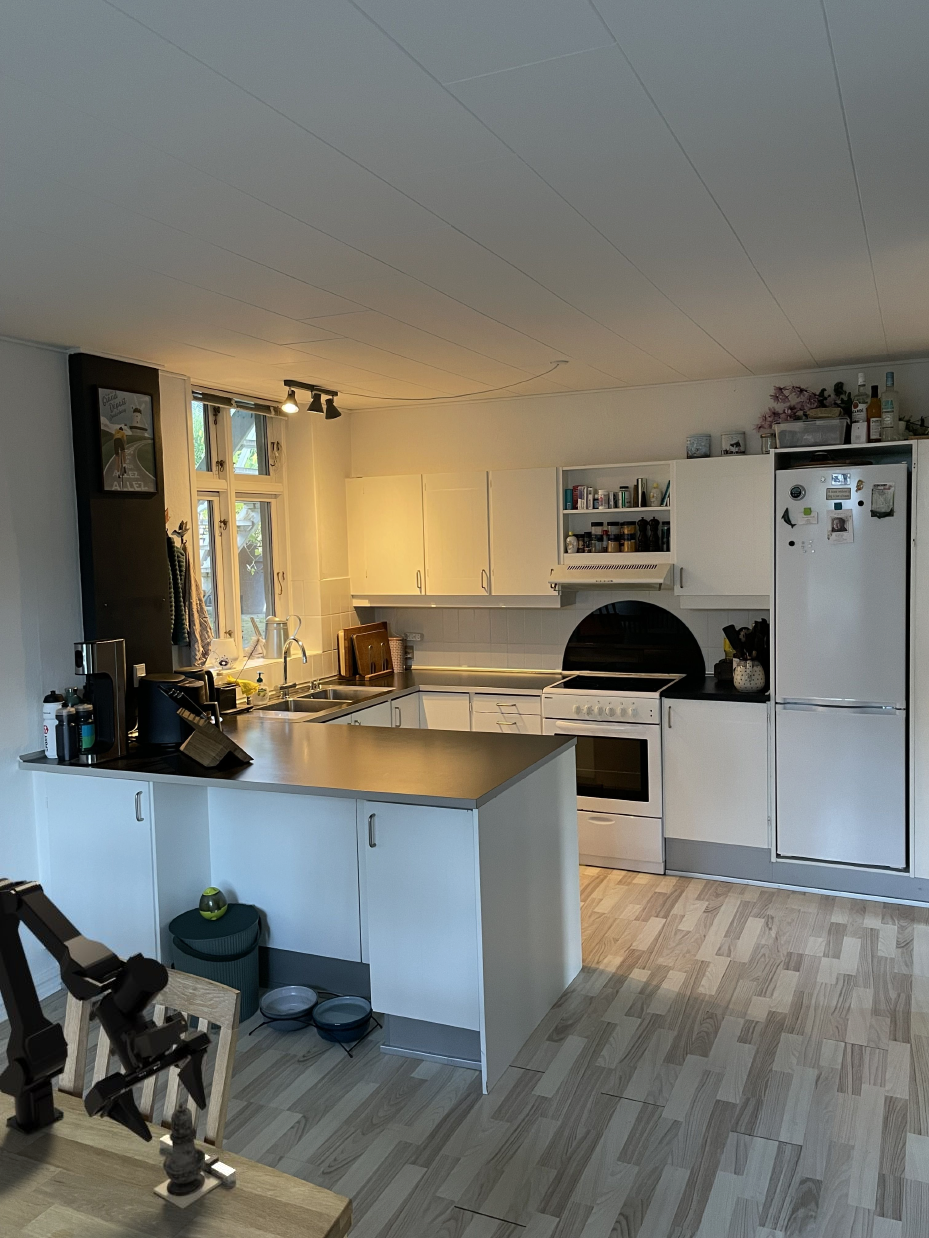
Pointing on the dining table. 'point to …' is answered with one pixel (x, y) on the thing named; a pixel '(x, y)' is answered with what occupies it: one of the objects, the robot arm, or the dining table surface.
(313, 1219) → the dining table surface
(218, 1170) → the white rectangular bar
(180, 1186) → the dark grey tiered figure
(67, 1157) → the dining table surface
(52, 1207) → the dining table surface
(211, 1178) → the groove pad
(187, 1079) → the robot arm
